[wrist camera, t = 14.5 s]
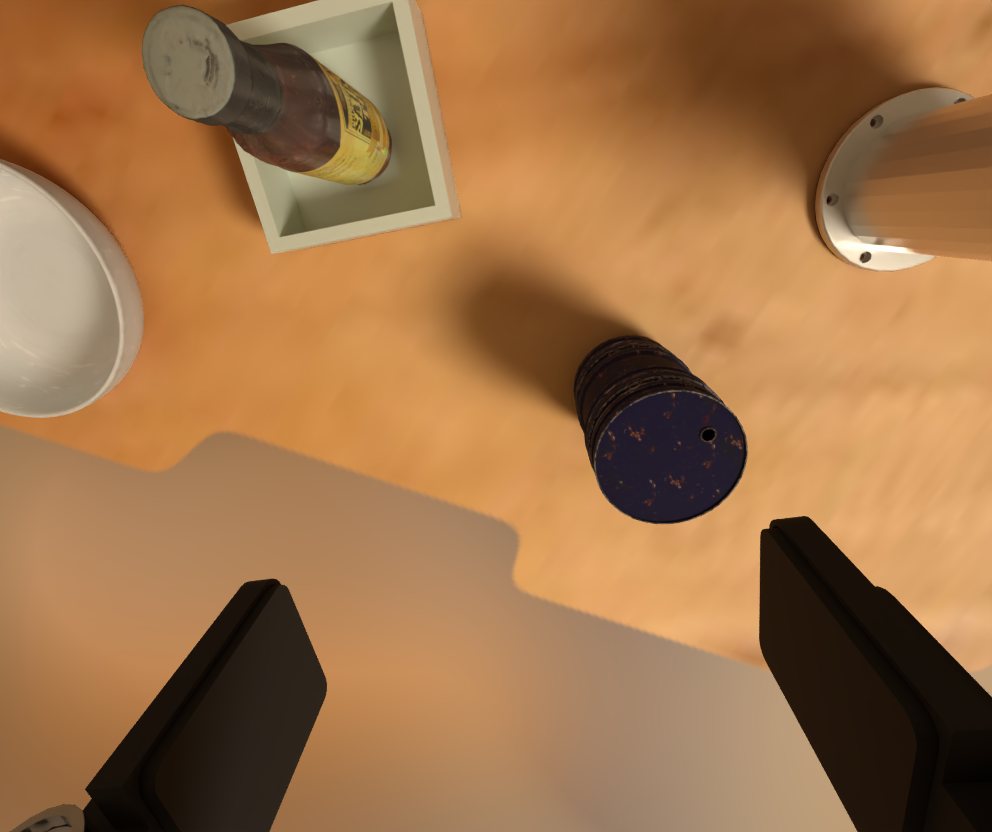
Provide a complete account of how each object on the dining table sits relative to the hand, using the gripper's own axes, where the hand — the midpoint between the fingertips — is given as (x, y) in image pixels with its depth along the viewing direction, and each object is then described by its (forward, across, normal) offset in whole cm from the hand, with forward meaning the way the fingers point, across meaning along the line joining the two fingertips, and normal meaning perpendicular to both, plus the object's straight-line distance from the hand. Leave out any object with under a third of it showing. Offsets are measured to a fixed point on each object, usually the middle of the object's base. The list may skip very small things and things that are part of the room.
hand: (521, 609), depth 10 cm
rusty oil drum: (+36, -8, +9) cm, 38 cm away
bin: (+36, +11, -15) cm, 41 cm away
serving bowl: (+37, +41, -9) cm, 56 cm away
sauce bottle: (+36, +11, -15) cm, 40 cm away
